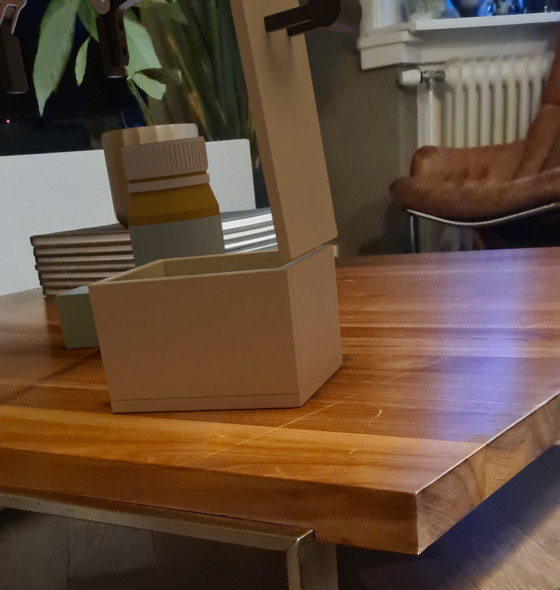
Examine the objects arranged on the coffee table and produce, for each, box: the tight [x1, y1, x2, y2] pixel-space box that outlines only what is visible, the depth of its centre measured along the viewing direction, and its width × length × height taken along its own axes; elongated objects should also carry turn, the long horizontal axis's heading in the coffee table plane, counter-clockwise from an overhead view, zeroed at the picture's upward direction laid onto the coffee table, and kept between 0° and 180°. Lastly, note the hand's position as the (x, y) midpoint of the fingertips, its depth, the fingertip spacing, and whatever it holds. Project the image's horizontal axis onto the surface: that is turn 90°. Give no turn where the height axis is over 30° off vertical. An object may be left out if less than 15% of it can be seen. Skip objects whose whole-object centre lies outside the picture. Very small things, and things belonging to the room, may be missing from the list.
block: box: [54, 285, 101, 353], centre depth 79 cm, size 5×5×5 cm
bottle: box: [120, 136, 227, 268], centre depth 70 cm, size 7×7×15 cm
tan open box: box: [87, 243, 344, 414], centre depth 59 cm, size 13×11×8 cm
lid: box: [229, 0, 363, 262], centre depth 51 cm, size 13×11×5 cm
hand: (65, 85), depth 69 cm, fingers open, 8 cm apart
